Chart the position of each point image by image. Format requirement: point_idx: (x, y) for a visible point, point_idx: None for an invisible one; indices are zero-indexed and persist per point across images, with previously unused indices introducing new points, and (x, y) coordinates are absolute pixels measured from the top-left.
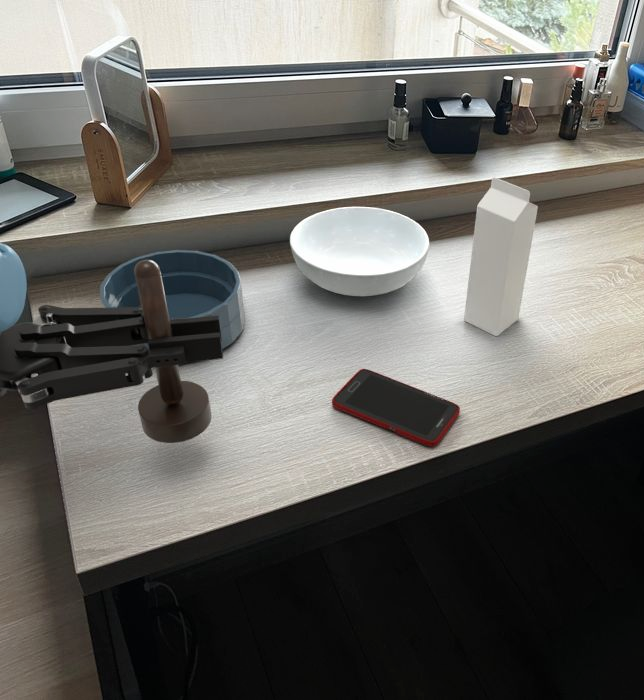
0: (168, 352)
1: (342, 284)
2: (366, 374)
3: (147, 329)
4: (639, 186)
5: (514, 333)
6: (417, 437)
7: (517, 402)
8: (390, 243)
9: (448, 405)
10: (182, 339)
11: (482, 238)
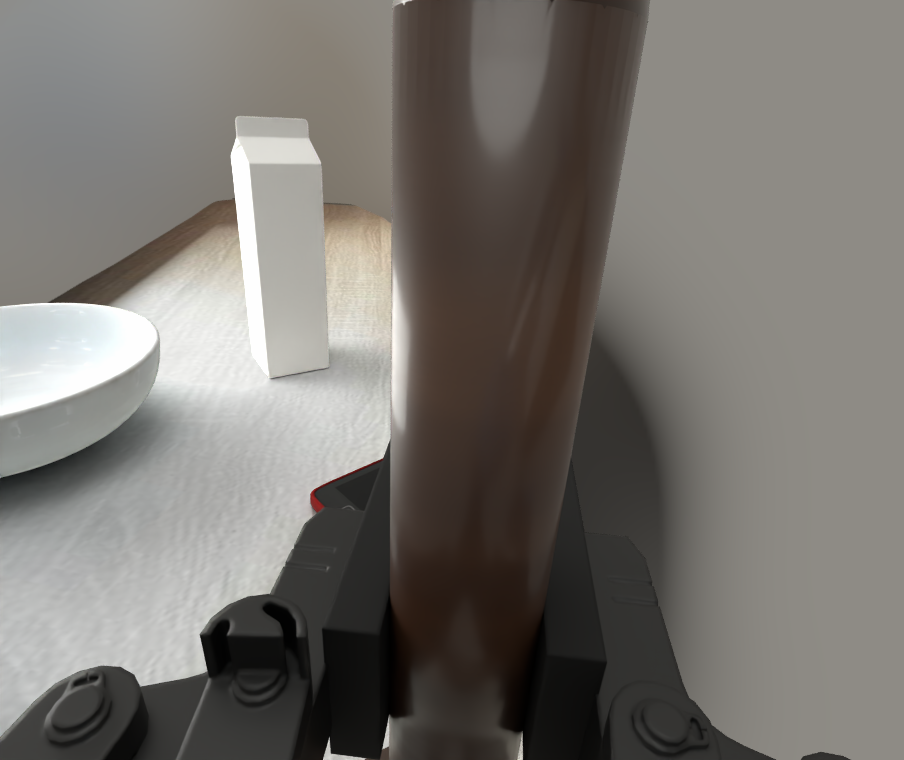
0: (638, 596)
1: (80, 421)
2: (330, 492)
3: (514, 604)
4: (161, 235)
5: (333, 355)
6: None
7: None
8: (2, 368)
9: None
10: (567, 505)
11: (272, 219)
